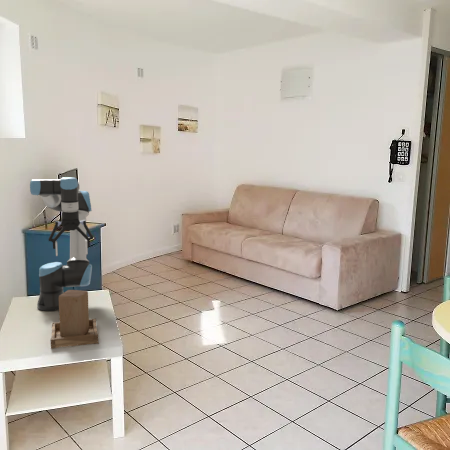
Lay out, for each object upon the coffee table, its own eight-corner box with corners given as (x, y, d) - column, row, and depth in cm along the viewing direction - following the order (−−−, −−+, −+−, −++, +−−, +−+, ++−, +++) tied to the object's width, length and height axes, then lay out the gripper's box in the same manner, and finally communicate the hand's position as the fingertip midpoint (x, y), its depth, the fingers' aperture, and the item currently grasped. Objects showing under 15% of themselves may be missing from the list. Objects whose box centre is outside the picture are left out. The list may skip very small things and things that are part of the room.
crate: (52, 330, 225) (51, 322, 224) (96, 326, 231) (95, 318, 230) (50, 348, 206) (50, 339, 205) (98, 343, 212) (98, 335, 211)
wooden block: (80, 340, 213) (78, 297, 209) (59, 338, 214) (57, 295, 210) (90, 331, 222) (88, 290, 219) (70, 329, 224) (68, 288, 220)
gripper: (41, 213, 215) (43, 258, 220) (98, 211, 223) (99, 255, 227) (42, 210, 222) (44, 253, 227) (97, 208, 230) (98, 250, 234)
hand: (71, 254), depth 227 cm, fingers open, 13 cm apart
